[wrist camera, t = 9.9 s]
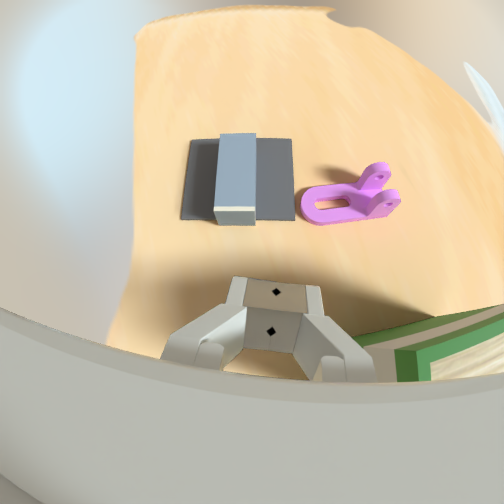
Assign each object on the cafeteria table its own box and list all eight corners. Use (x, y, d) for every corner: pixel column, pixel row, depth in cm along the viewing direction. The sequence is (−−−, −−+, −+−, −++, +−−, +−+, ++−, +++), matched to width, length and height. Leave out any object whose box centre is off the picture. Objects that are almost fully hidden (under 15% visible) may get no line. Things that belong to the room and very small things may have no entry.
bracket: (375, 184, 43) (391, 161, 36) (386, 217, 41) (405, 197, 35) (296, 193, 43) (302, 168, 36) (304, 228, 41) (312, 208, 34)
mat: (294, 220, 41) (295, 219, 41) (181, 220, 42) (181, 219, 41) (291, 140, 45) (291, 138, 44) (192, 141, 45) (191, 139, 45)
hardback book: (435, 316, 37) (561, 289, 14) (440, 364, 35) (565, 369, 12) (325, 342, 37) (416, 350, 14) (331, 395, 35) (419, 464, 12)
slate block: (254, 211, 36) (256, 133, 39) (213, 211, 36) (220, 133, 39) (255, 225, 41) (256, 153, 44) (218, 225, 41) (223, 153, 44)
